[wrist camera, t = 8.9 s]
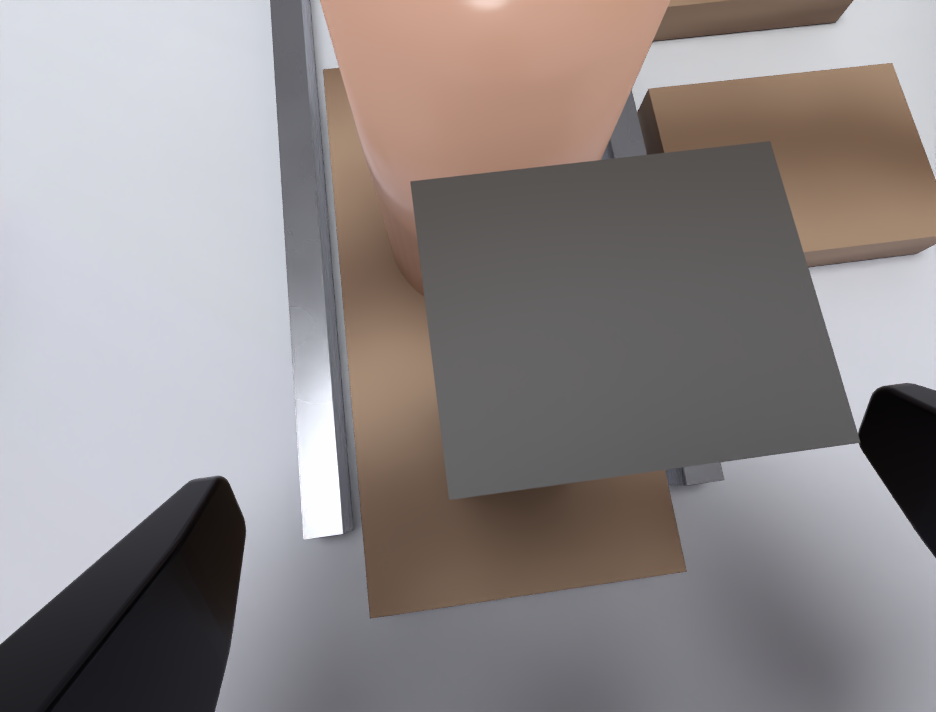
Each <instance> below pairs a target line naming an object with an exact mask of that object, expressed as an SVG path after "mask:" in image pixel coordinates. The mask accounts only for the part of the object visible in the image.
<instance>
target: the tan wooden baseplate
mask: <svg viewBox="0 0 936 712" xmlns="http://www.w3.org/2000/svg"><path fill="white" fill-rule="evenodd" d="M323 75H324V87H325V99H326V110H327V122H328V134H329V145H330V157H331V169H332V180H333V192H334V204H335V215H336V227H337V239H338V250H339V262H340V274H341V285H342V297H343V309H344V320H345V332H346V344H347V355H348V367H349V379H350V390H351V402H352V414H353V425H354V437H355V449H356V460H357V472H358V484H359V495H360V507H361V519H362V530H363V542H364V554H365V565H366V577H367V589H368V600H369V612H370V618H377V617H384V616H391V615H397V614H404V613H411V612H417V611H424V610H431V609H438V608H444V607H451V606H458V605H465V604H471V603H478V602H485V601H491V600H498V599H505V598H512V597H518V596H525V595H532V594H538V593H545V592H552V591H559V590H565V589H572V588H579V587H586V586H592V585H599V584H606V583H612V582H619V581H626V580H633V579H639V578H646V577H653V576H660V575H666V574H673V573H680V572H686V566H685V561H684V557H683V552H682V547H681V543H680V538H679V533H678V529H677V524H676V519H675V515H674V510H673V505H672V501H671V496H670V491H669V487H668V482H667V477H666V473H665V470H668V469H675V468H682V467H689V466H696V465H703V464H711V463H718V462H725V461H732V460H739V459H746V458H754V457H761V456H768V455H775V454H782V453H789V452H797V451H804V450H811V449H818V448H825V447H832V446H840V445H847V444H854V443H860V439H859V436H858V433H857V429H856V426H855V422H854V419H853V416H852V412H851V409H850V406H849V402H848V399H847V396H846V392H845V389H844V386H843V382H842V379H841V376H840V372H839V369H838V366H837V362H836V359H835V356H834V352H833V349H832V346H831V342H830V339H829V336H828V332H827V329H826V326H825V322H824V319H823V316H822V312H821V309H820V306H819V302H818V299H817V295H816V292H815V289H814V285H813V282H812V279H811V275H810V272H809V269H808V265H807V262H806V259H805V255H804V252H803V249H802V245H801V242H800V239H799V235H798V232H797V229H796V225H795V222H794V219H793V215H792V212H791V209H790V205H789V202H788V199H787V195H786V192H785V189H784V185H783V182H782V179H781V175H780V172H779V168H778V165H777V162H776V158H775V155H774V152H773V148H772V145H771V142H770V141H766V142H757V143H748V144H739V145H730V146H722V147H713V148H704V149H695V150H686V151H677V152H668V153H659V154H650V155H641V156H632V157H623V158H614V159H605V160H596V161H587V162H578V163H570V164H561V165H552V166H543V167H534V168H525V169H516V170H507V171H498V172H489V173H480V174H471V175H462V176H453V177H444V178H435V179H426V180H418V181H410V184H411V192H412V200H413V208H414V217H415V225H416V233H417V241H418V249H419V257H420V266H421V274H422V282H423V290H424V296H423V295H421V294H420V293H419V292H418V291H417V290H415V289H414V288H413V287H412V286H411V284H410V283H409V282H408V281H407V280H406V279H405V277H404V276H403V274H402V273H401V271H400V269H399V267H398V265H397V263H396V261H395V258H394V256H393V253H392V249H391V246H390V242H389V239H388V235H387V232H386V228H385V225H384V221H383V218H382V214H381V211H380V207H379V204H378V201H377V197H376V194H375V190H374V187H373V183H372V180H371V176H370V173H369V169H368V166H367V162H366V159H365V155H364V152H363V148H362V145H361V141H360V138H359V134H358V131H357V127H356V124H355V121H354V117H353V114H352V110H351V107H350V103H349V100H348V96H347V93H346V89H345V86H344V82H343V79H342V75H341V72H340V68H333V69H324V70H323Z"/></svg>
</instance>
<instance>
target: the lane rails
mask: <svg viewBox="0 0 936 712" xmlns="http://www.w3.org/2000/svg"><path fill="white" fill-rule="evenodd" d="M270 5H271V21H272V37H273V54H274V70H275V86H276V103H277V119H278V135H279V151H280V168H281V184H282V200H283V217H284V233H285V249H286V265H287V282H288V298H289V314H290V331H291V347H292V363H293V380H294V396H295V412H296V428H297V445H298V461H299V477H300V494H301V510H302V526H303V539H310V538H317V537H324V536H332V535H339V534H344V533H346V532H349V531H351V530H353V520H352V507H351V495H350V483H349V471H348V459H347V446H346V434H345V422H344V410H343V398H342V385H341V373H340V361H339V349H338V337H337V324H336V312H335V300H334V288H333V276H332V263H331V251H330V239H329V227H328V215H327V202H326V190H325V178H324V166H323V154H322V142H321V129H320V117H319V105H318V93H317V81H316V68H315V56H314V44H313V32H312V20H311V7H310V0H270ZM641 155H647V153H646V148H645V144H644V140H643V136H642V132H641V127H640V123H639V119H638V115H637V111H636V106H635V102H634V98H633V94H632V90H631V92H630V94H629V97H628V99H627V101H626V104H625V106H624V108H623V110H622V113H621V115H620V117H619V120H618V122H617V124H616V126H615V129H614V131H613V133H612V136H611V138H610V140H609V142H608V145H607V147H606V149H605V152H604V154H603V156H602V159H601V160H605V159H614V158H623V157H632V156H641ZM665 473H666V477H667V482H668V485H693V484H700V483H707V482H714V481H721V480H724V476H723V472H722V468H721V464H720V462H718V463H711V464H703V465H696V466H689V467H682V468H675V469H668V470H665Z"/></svg>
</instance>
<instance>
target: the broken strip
mask: <svg viewBox="0 0 936 712" xmlns="http://www.w3.org/2000/svg"><path fill="white" fill-rule="evenodd" d="M852 1H853V0H670V3H669V5H668V7H667V10H666V12H665V14H664V16H663V19H662V21H661V23H660V26H659V28H658V30H657V32H656V35H655V37H654V39H653V41H657V40H666V39H676V38H686V37H696V36H706V35H716V34H725V33H735V32H745V31H755V30H765V29H774V28H784V27H794V26H804V25H814V24H823V23H833V22H836V21H837V20H838V19H839V18H840V16H841V15H842V14H843V13H844V11H845V10H846V9H847V8H848V6H849V5H850V4H851V3H852ZM637 115H638V119H639V123H640V127H641V132H642V136H643V140H644V144H645V148H646V153H647V155H650V154H659V153H668V152H677V151H686V150H695V149H704V148H713V147H722V146H730V145H739V144H748V143H757V142H766V141H770V142H771V145H772V148H773V152H774V155H775V158H776V162H777V165H778V168H779V172H780V175H781V179H782V182H783V185H784V189H785V192H786V195H787V199H788V202H789V205H790V209H791V212H792V215H793V219H794V222H795V225H796V229H797V232H798V235H799V239H800V242H801V245H802V249H803V252H804V255H805V259H806V262H807V265H808V267H812V266H820V265H828V264H837V263H845V262H853V261H861V260H869V259H877V258H885V257H893V256H901V255H910V254H917V253H919V252H921V251H923V250H925V249H927V248H929V247H931V246H933V245H935V244H936V180H935V177H934V174H933V172H932V169H931V166H930V163H929V161H928V158H927V155H926V153H925V150H924V147H923V145H922V142H921V139H920V137H919V134H918V131H917V129H916V126H915V123H914V121H913V118H912V115H911V112H910V110H909V107H908V104H907V102H906V99H905V96H904V94H903V91H902V88H901V86H900V83H899V80H898V78H897V75H896V72H895V69H894V67H893V64H892V63H887V64H878V65H869V66H859V67H850V68H840V69H831V70H821V71H812V72H803V73H793V74H784V75H774V76H765V77H755V78H746V79H737V80H727V81H718V82H708V83H699V84H689V85H680V86H671V87H661V88H652V89H648V91H647V93H646V95H645V97H644V100H643V102H642V104H641V106H640V108H639V110H638V112H637Z"/></svg>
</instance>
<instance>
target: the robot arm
mask: <svg viewBox="0 0 936 712" xmlns="http://www.w3.org/2000/svg"><path fill="white" fill-rule="evenodd" d="M858 436H859V439H860V443H859V445H860V447H861V449H862V451H863V453H864V454H865V456H866V457H867V459H868V460H869V462H870V463H871V465H872V466H873V468H874V469H875V471H876V472H877V474H878V475H879V477H880V478H881V480H882V481H883V483H884V484H885V486H886V487H887V489H888V490H889V492H890V493H891V495H892V496H893V498H894V499H895V501H896V502H897V504H898V505H899V507H900V508H901V510H902V511H903V513H904V514H905V516H906V517H907V519H908V520H909V522H910V523H911V525H912V526H913V528H914V529H915V531H916V532H917V533H918V535H919V536H920V538H921V539H922V541H923V542H924V543H925V545H926V546H927V547H928V549H929V550H930V551H931V552H932V554H933V555H934V556H935V558H936V391H935V390H932V389H929V388H926V387H922V386H919V385H916V384H911V383H903V384H895V385H888V386H882V387H880V388H877V389H876V390H875V391H874V392H873V394H872V396H871V398H870V401H869V404H868V406H867V409H866V412H865V415H864V417H863V420H862V423H861V426H860V428H859V432H858ZM245 537H246V526H245V520H244V517H243V514H242V512H241V510H240V507H239V505H238V503H237V500H236V498H235V495H234V493H233V491H232V488H231V486H230V484H229V482H228V480H227V479H226V478H224V477H222V476H213V477H206V478H198V479H194V480H191V481H189V482H188V483H187V484H185V485H184V486H183V487H182V488H181V489H180V490H178V491H177V492H176V493H175V494H174V495H173V496H171V497H170V498H169V499H168V500H167V501H166V502H165V503H163V504H162V505H161V506H160V507H159V508H158V509H156V510H155V511H154V512H153V513H152V514H151V515H149V516H148V517H147V518H146V519H145V520H144V521H143V522H141V523H140V524H139V525H138V526H137V527H136V528H134V529H133V530H132V531H131V532H130V533H129V534H128V535H126V536H125V537H124V538H123V539H122V540H121V541H119V542H118V543H117V544H116V545H115V546H114V547H112V548H111V549H110V550H109V551H108V552H107V553H106V554H104V555H103V556H102V557H101V558H100V559H99V560H97V561H96V562H95V563H94V564H93V565H92V566H91V567H89V568H88V569H87V570H86V571H85V572H84V573H82V574H81V575H80V576H79V577H78V578H77V579H75V580H74V581H73V582H72V583H71V584H70V585H69V586H67V587H66V588H65V589H64V590H63V591H62V592H60V593H59V594H58V595H57V596H56V597H55V598H54V599H52V600H51V601H50V602H49V603H48V604H47V605H45V606H44V607H43V608H42V609H41V610H40V611H38V612H37V613H36V614H35V615H34V616H33V617H32V618H30V619H29V620H28V621H27V622H26V623H25V624H23V625H22V626H21V627H20V628H19V629H18V630H17V631H15V632H14V633H13V634H12V635H11V636H10V637H8V638H7V639H6V640H5V641H4V642H3V643H1V644H0V712H215V709H216V705H217V701H218V697H219V693H220V688H221V684H222V680H223V676H224V672H225V668H226V664H227V659H228V655H229V650H230V645H231V639H232V633H233V626H234V619H235V612H236V604H237V597H238V589H239V582H240V575H241V567H242V560H243V552H244V545H245Z"/></svg>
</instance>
